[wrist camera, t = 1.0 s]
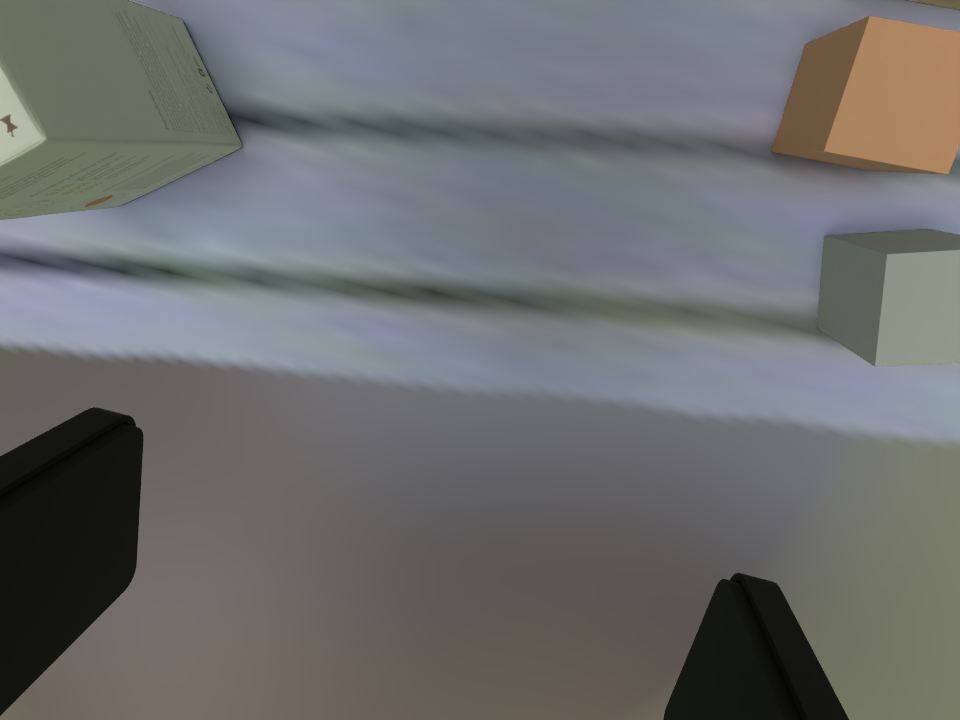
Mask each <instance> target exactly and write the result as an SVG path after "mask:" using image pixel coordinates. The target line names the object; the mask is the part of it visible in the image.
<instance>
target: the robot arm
mask: <svg viewBox="0 0 960 720" xmlns="http://www.w3.org/2000/svg"><path fill="white" fill-rule="evenodd" d="M142 454H143V432H142V430H141V429H140V428H138V427H136V424H135V421H134V419H133V418H132V417H131V416H128V415H124V414H120V413H116V412H112V411H108V410H104V409H101V408H95V407H94V408H90V409H88V410H86V411H84V412H82V413H80V414H78V415H77V416H75V417H73V418H71V419H69V420H67V421H65V422H63V423H62V424H60V425H58V426H56V427H54V428H52V429H50V430H49V431H47V432H45V433H43V434H41V435H39V436H37V437H36V438H34V439H32V440H30V441H28V442H26V443H24V444H23V445H21V446H19V447H17V448H15V449H13V450H11V451H10V452H8V453H6V454H4V455H2V456H0V715H2V714H3V712H4V711H5V710H6V709H8V708H9V707H10V706H11V704H13V703H14V701H15V700H16V699H17V698H18V697H19V696H20V695H21V694H22V693H23V692H24V691H25V690H26V689H27V688H28V687H29V686H30V685H31V684H32V683H33V682H34V681H35V680H36V679H37V678H38V677H39V676H40V675H41V674H42V673H43V672H44V671H45V670H46V669H47V668H48V667H49V666H50V665H51V664H52V663H53V662H54V661H55V660H56V659H57V658H58V657H59V656H60V655H61V654H62V653H63V652H64V651H65V650H66V649H67V648H68V647H69V646H70V645H71V644H72V643H73V642H74V641H75V640H76V639H77V638H78V637H79V636H80V635H81V634H82V633H83V632H84V631H85V630H86V629H87V628H88V627H89V626H90V625H91V624H92V623H93V622H94V621H95V620H96V619H97V618H98V617H99V616H100V615H101V614H102V613H103V612H104V611H105V610H106V609H107V608H108V607H109V606H110V605H111V604H112V603H113V602H114V601H115V600H116V599H117V598H118V597H119V596H120V595H121V594H122V593H123V592H124V591H125V590H126V588H127V587H128V586H129V584H130V582H131V581H132V578H133V576H134V573H135V570H136V563H137V544H138V526H139V508H140V490H141V472H142ZM664 720H849V719H848V717H847V715H846V713H845V711H844V709H843V707H842V706H841V703H840V701H839V700H838V698H837V696H836V694H835V692H834V690H833V688H832V686H831V684H830V683H829V680H828V679H827V677H826V675H825V673H824V671H823V669H822V667H821V665H820V663H819V661H818V660H817V658H816V656H815V654H814V652H813V650H812V648H811V646H810V644H809V643H808V641H807V639H806V637H805V635H804V633H803V631H802V629H801V627H800V625H799V623H798V622H797V619H796V618H795V616H794V614H793V612H792V610H791V608H790V606H789V604H788V602H787V600H786V599H785V597H784V595H783V593H782V591H781V589H780V587H779V586H778V585H777V584H776V583H774V582H771V581H767V580H764V579H760V578H756V577H752V576H749V575H745V574H741V573H737V574H734V575H733V576H732V577H731V579H730V580H726V579H722V580H720V582H719V583H718V584H717V586H716V589H715V591H714V593H713V596H712V598H711V601H710V603H709V605H708V608H707V610H706V613H705V615H704V618H703V620H702V622H701V625H700V627H699V630H698V632H697V634H696V637H695V639H694V642H693V644H692V646H691V649H690V651H689V654H688V656H687V659H686V661H685V664H684V666H683V668H682V671H681V673H680V675H679V678H678V680H677V683H676V685H675V687H674V690H673V692H672V695H671V697H670V700H669V702H668V705H667V707H666V710H665V714H664Z"/></svg>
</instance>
